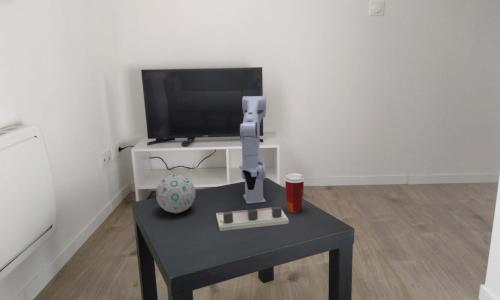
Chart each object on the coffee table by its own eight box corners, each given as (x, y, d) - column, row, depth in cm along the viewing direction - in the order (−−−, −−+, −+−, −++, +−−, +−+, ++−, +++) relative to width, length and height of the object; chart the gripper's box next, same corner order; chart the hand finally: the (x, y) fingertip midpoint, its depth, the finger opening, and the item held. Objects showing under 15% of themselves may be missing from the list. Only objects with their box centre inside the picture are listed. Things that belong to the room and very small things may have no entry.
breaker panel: (216, 216, 143) (216, 213, 142) (279, 210, 147) (279, 206, 147) (219, 231, 132) (219, 227, 131) (288, 223, 136) (288, 219, 136)
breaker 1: (223, 220, 136) (223, 212, 135) (232, 219, 136) (231, 211, 135) (224, 222, 134) (223, 214, 133) (233, 221, 134) (232, 214, 133)
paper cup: (305, 206, 150) (305, 173, 146) (302, 214, 143) (303, 180, 139) (286, 205, 152) (286, 172, 148) (282, 213, 145) (282, 178, 141)
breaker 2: (247, 217, 137) (247, 209, 137) (256, 216, 138) (256, 208, 137) (248, 219, 136) (248, 212, 135) (257, 218, 136) (257, 211, 135)
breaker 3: (271, 214, 139) (271, 207, 138) (280, 214, 140) (280, 206, 139) (273, 217, 137) (273, 209, 136) (281, 216, 138) (281, 208, 137)
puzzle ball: (149, 215, 146) (145, 178, 142) (174, 201, 159) (171, 167, 155) (180, 222, 139) (177, 184, 135) (204, 207, 152) (201, 172, 148)
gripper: (236, 150, 144) (237, 183, 147) (242, 160, 130) (243, 197, 134) (254, 149, 145) (254, 182, 149) (262, 158, 132) (263, 195, 135)
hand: (250, 189), depth 141 cm, fingers closed
